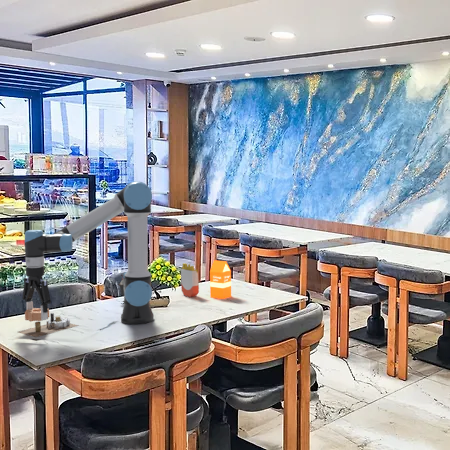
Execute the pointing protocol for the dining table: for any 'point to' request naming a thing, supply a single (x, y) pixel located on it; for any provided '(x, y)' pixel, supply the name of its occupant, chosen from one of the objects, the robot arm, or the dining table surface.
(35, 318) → the loose gear
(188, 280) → the french fries container
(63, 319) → the gear
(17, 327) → the dining table surface
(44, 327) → the gear board
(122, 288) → the sundae
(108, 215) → the robot arm
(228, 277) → the orange juice
